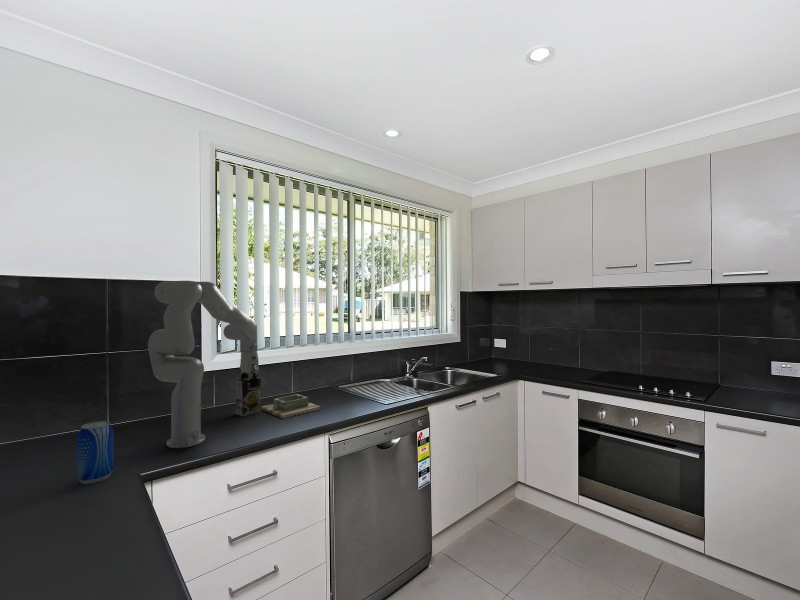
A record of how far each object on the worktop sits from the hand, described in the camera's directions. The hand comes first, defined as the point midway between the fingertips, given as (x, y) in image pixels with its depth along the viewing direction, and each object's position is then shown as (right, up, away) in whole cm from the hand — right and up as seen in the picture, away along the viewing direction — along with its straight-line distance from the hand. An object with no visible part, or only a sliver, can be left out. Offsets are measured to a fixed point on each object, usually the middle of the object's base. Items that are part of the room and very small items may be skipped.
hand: (249, 384), depth 177 cm
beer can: (-20, -13, -65) cm, 69 cm away
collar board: (+18, -13, +5) cm, 23 cm away
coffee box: (0, -13, -1) cm, 13 cm away
